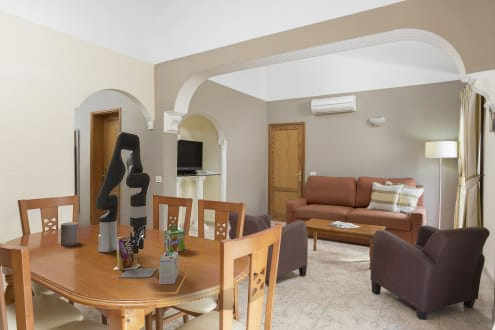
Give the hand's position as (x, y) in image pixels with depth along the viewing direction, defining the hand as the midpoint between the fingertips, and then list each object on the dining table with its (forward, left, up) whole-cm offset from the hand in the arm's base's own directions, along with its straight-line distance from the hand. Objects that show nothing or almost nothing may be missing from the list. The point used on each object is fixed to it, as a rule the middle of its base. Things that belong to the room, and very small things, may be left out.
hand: (138, 251), depth 141 cm
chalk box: (+8, +37, -11) cm, 39 cm away
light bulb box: (+16, -7, -11) cm, 21 cm away
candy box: (-9, +9, -11) cm, 17 cm away
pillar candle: (-62, +51, -11) cm, 81 cm away
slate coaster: (0, 0, -11) cm, 11 cm away
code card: (-9, +9, -11) cm, 17 cm away
